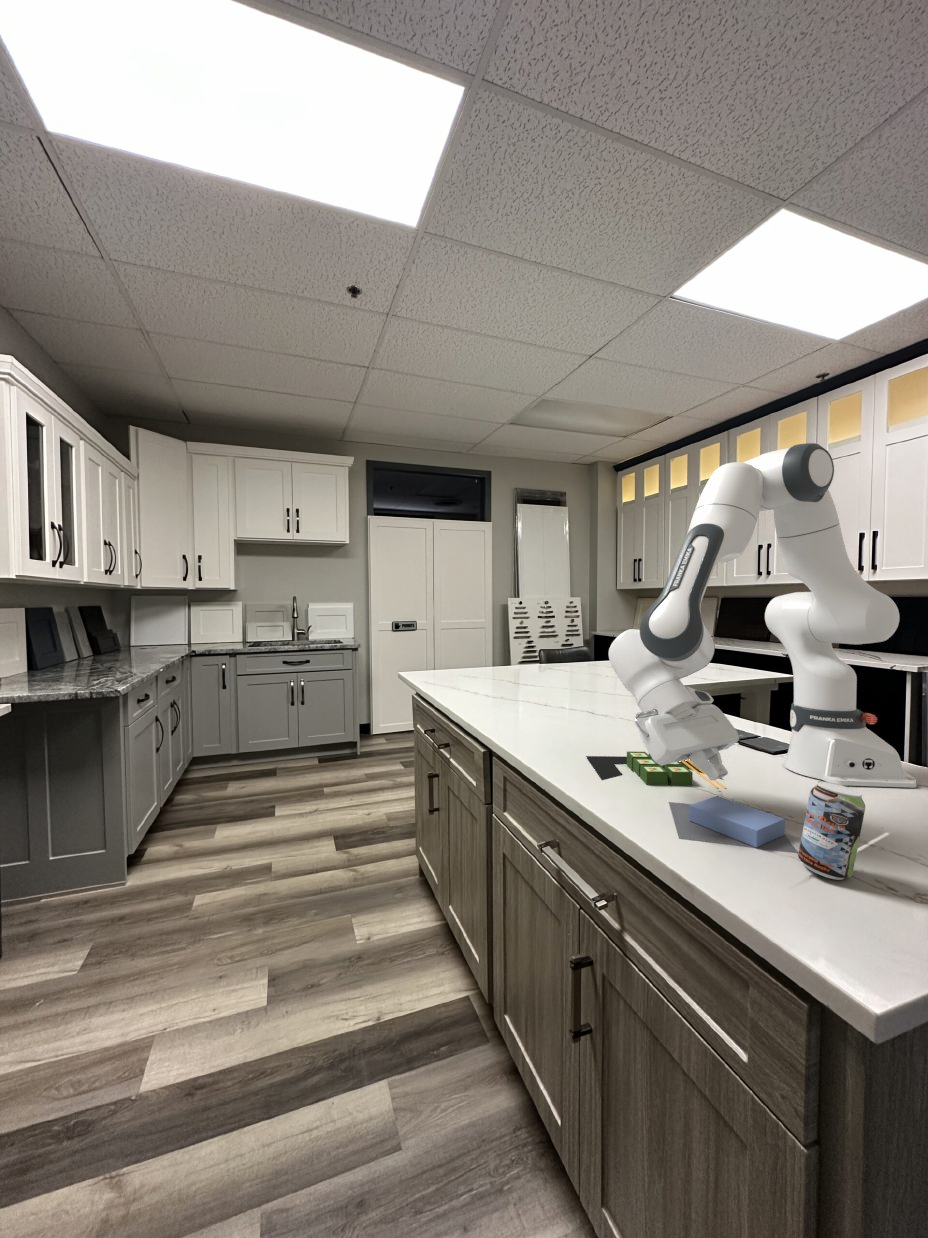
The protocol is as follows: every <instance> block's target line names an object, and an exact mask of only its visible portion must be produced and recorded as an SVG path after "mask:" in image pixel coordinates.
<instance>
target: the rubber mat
mask: <svg viewBox="0 0 928 1238" xmlns="http://www.w3.org/2000/svg"><path fill="white" fill-rule="evenodd" d="M668 804H669V808H670V811H671V815H672V818H673V822H674V826H675V829H676V833H677V835H678V839H679V840H686V841H687V840H688V841H694V842H695V841H696V842H702V843H709V844H718V845H727V846H736V847H745V848H752V849H753V848H754V849H761V850H767V851H768V850H769V851H777V852H785V853H793V854H798V853H799V850H797V849H796V847H795V846H794V845H793V843H792V842H791V841H790V839H789V838H788V837H787V835H786V834H785V835H783V836H781V837H778V838H776V839H774V840H772V841H770V842H767V843H765V844H763V845H761V846H759V847H754V846H751V845H749V844H746V843H744V842H741V841H739V840H736V839H734V838H731V837H729V836H726V835H724V834H721V833H719V832H717V831H714V830H712V829H709V828H707V827H704V826H702V825H699V824H697V823H694V822H692V821H689V805H692V804H693V803H692V804H691V803H684V802H683V803H682V802H681V803H680V802H671V801H668ZM766 812H767V813H769V812H768V811H766Z"/></svg>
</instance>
